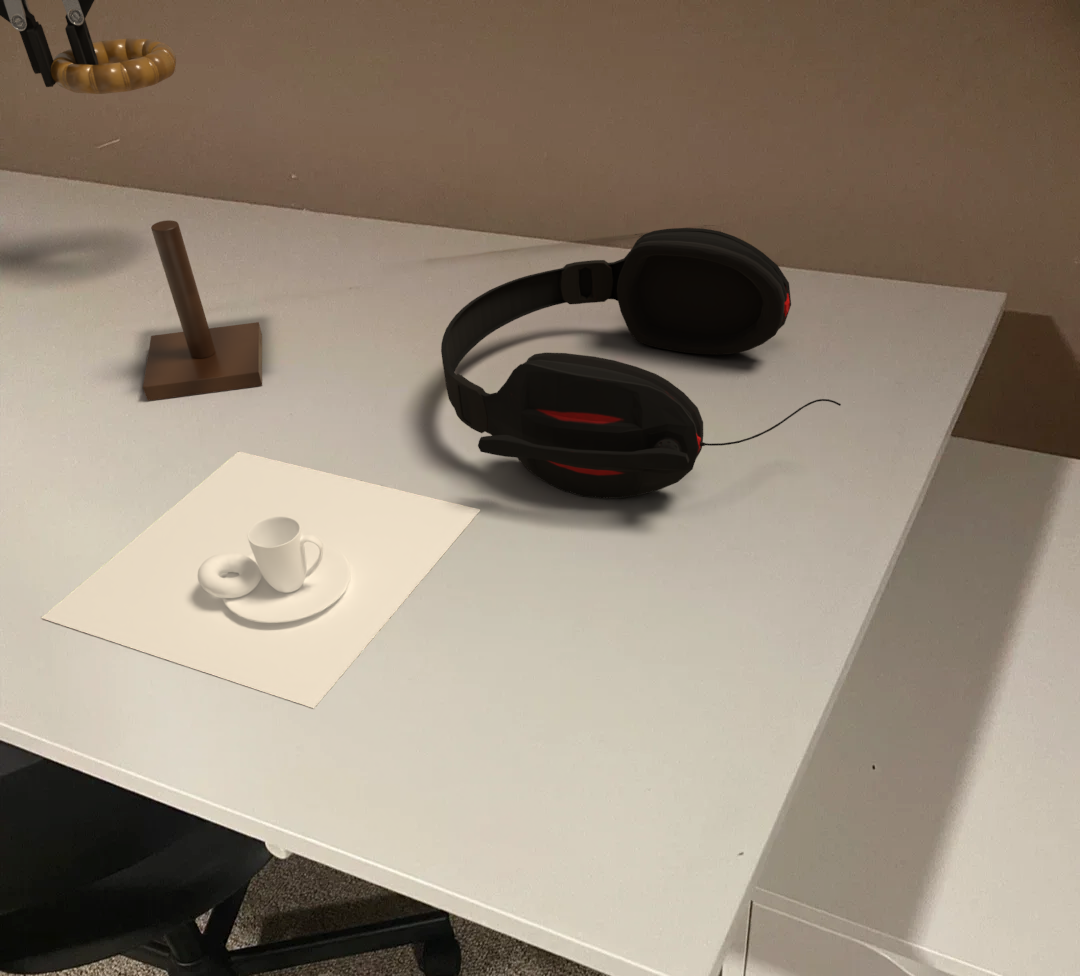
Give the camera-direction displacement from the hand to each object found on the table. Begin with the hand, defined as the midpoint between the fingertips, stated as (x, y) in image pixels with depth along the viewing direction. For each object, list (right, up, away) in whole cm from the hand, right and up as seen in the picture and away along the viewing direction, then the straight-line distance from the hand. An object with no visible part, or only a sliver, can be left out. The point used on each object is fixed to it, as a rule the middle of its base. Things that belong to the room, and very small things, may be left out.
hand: (70, 78), depth 85 cm
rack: (+12, -25, -2) cm, 28 cm away
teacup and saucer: (+22, -44, -20) cm, 53 cm away
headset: (+47, -31, -10) cm, 57 cm away
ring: (+4, +1, 0) cm, 4 cm away
